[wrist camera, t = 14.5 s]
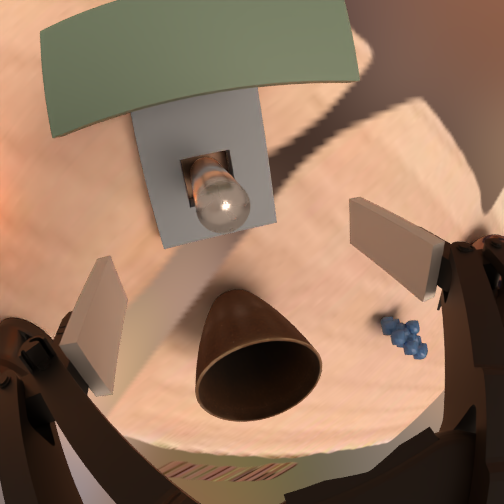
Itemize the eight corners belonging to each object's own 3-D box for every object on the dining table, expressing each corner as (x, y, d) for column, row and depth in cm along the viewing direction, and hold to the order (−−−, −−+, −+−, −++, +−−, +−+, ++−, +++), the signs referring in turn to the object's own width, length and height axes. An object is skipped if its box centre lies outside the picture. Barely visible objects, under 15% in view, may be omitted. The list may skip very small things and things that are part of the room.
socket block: (267, 212, 39) (276, 222, 36) (165, 236, 37) (164, 249, 34) (247, 79, 31) (255, 74, 28) (133, 101, 29) (128, 99, 26)
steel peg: (218, 154, 35) (245, 175, 20) (224, 184, 36) (254, 226, 22) (187, 160, 34) (190, 187, 20) (193, 191, 36) (202, 238, 22)
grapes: (413, 311, 57) (446, 343, 46) (395, 334, 58) (425, 368, 48) (386, 297, 52) (423, 333, 42) (366, 324, 54) (399, 363, 43)
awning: (266, 99, 33) (359, 81, 15) (122, 129, 30) (52, 138, 12) (258, 49, 30) (340, -15, 11) (113, 77, 27) (40, 31, 9)
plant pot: (205, 253, 40) (222, 327, 26) (297, 279, 45) (345, 347, 31) (175, 334, 44) (181, 416, 30) (258, 349, 50) (286, 422, 36)
